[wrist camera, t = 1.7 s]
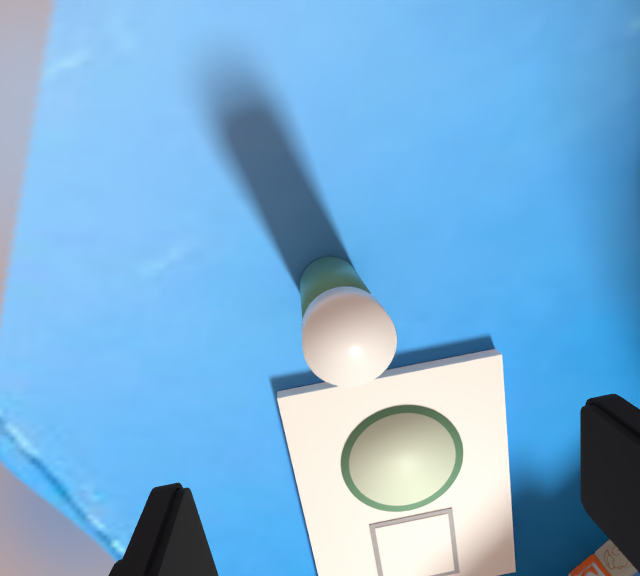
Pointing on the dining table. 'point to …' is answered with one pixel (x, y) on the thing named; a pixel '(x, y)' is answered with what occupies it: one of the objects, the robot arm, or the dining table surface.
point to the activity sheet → (406, 470)
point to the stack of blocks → (605, 563)
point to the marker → (343, 325)
